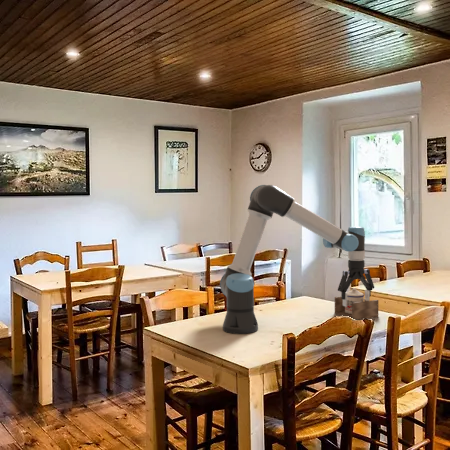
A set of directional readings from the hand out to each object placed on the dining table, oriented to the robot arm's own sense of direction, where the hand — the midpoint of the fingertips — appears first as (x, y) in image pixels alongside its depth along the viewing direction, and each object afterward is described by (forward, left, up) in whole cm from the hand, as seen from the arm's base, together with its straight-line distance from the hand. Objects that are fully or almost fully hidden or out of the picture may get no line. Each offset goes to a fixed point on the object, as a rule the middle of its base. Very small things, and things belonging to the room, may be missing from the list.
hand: (356, 304), depth 254 cm
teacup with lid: (0, 0, -4) cm, 4 cm away
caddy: (0, 0, -5) cm, 5 cm away
